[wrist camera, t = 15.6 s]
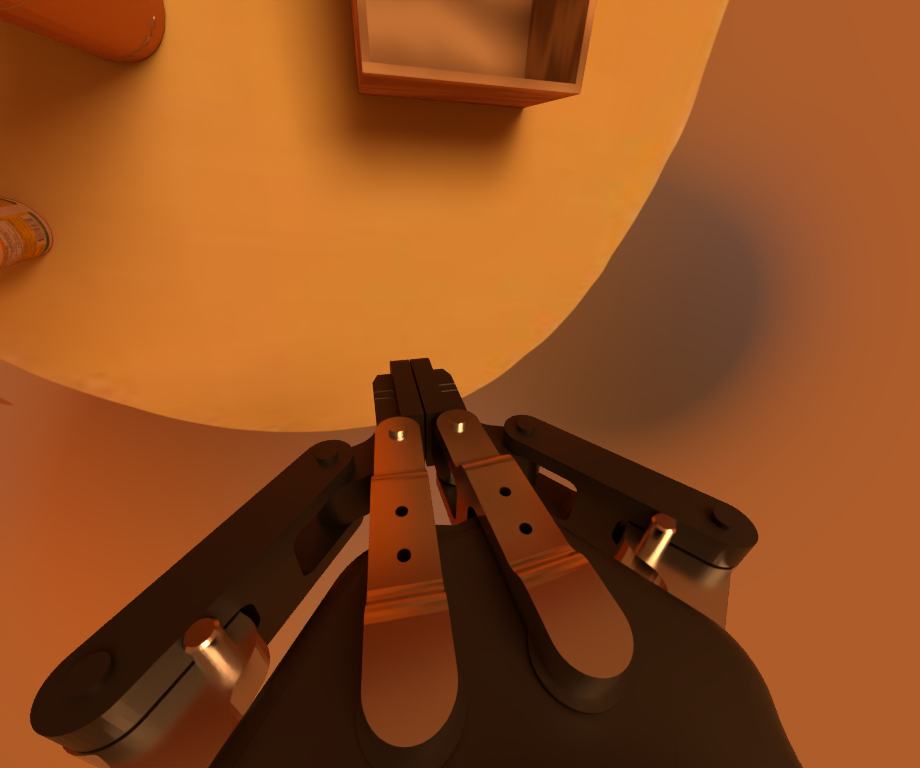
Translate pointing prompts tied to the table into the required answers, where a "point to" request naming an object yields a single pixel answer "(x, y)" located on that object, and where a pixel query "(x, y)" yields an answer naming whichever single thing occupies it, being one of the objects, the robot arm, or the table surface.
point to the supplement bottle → (21, 233)
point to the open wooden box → (472, 49)
